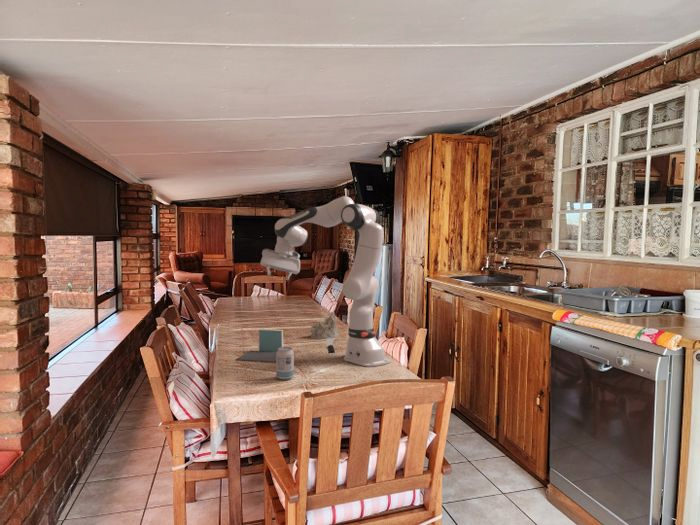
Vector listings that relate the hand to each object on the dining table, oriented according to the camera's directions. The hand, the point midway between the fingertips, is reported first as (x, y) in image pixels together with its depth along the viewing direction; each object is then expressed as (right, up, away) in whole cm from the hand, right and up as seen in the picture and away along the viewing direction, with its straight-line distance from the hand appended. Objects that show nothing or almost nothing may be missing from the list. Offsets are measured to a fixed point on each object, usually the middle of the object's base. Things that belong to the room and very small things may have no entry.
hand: (278, 277), depth 223 cm
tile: (-3, -37, -5) cm, 37 cm away
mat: (-5, -37, -15) cm, 40 cm away
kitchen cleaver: (+24, -37, +7) cm, 44 cm away
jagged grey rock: (+22, -35, +29) cm, 51 cm away
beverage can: (+10, -39, -46) cm, 61 cm away
